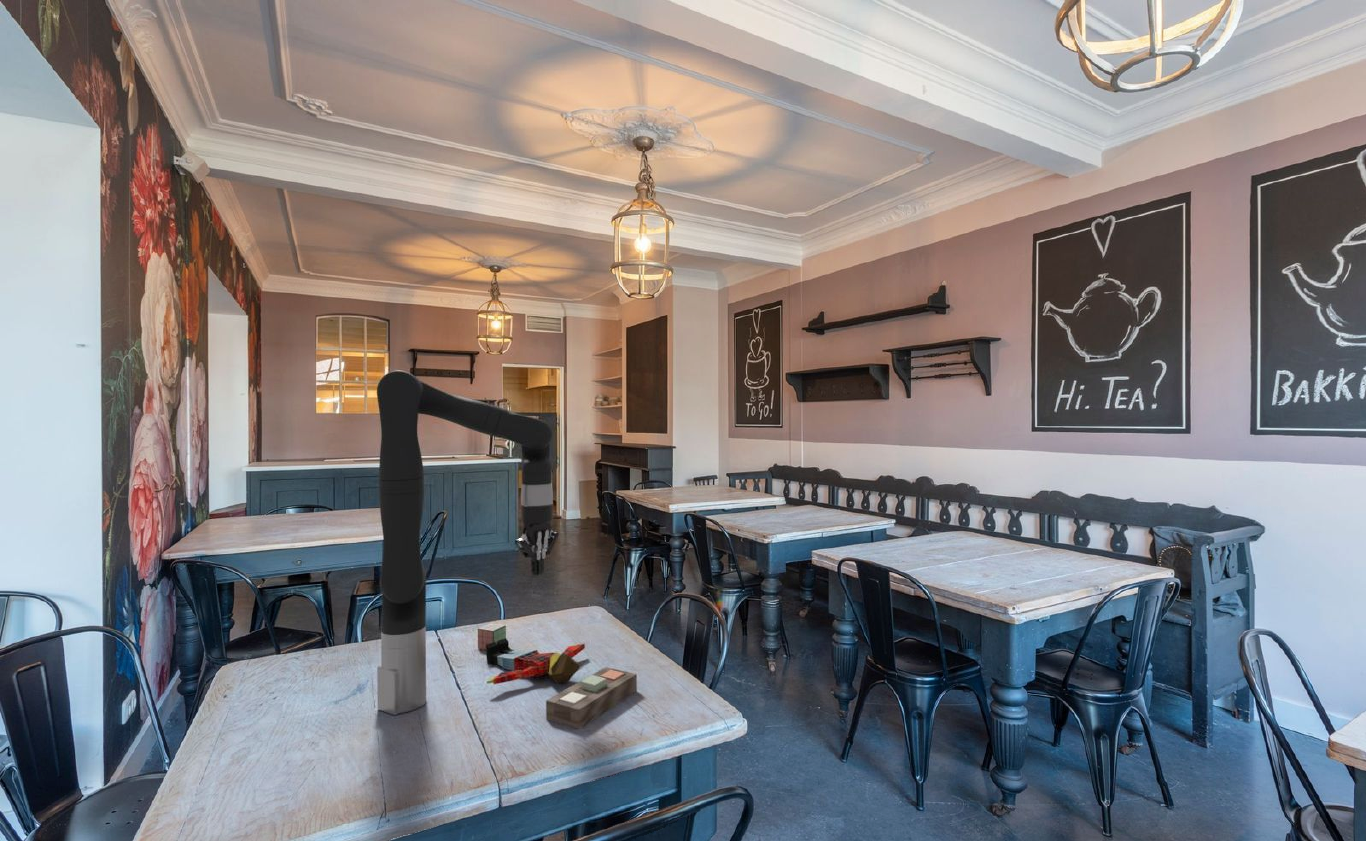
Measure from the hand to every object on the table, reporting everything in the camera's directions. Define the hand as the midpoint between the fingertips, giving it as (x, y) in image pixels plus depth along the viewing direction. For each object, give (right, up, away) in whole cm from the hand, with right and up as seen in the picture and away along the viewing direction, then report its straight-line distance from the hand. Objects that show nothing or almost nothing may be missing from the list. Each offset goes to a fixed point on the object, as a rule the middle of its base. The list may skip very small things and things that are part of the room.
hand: (537, 574), depth 151 cm
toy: (-3, -28, +9) cm, 29 cm away
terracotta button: (+18, -25, -4) cm, 32 cm away
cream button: (+11, -26, -16) cm, 32 cm away
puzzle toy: (-19, -28, +28) cm, 44 cm away
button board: (+15, -27, -10) cm, 32 cm away
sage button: (+15, -24, -10) cm, 30 cm away
